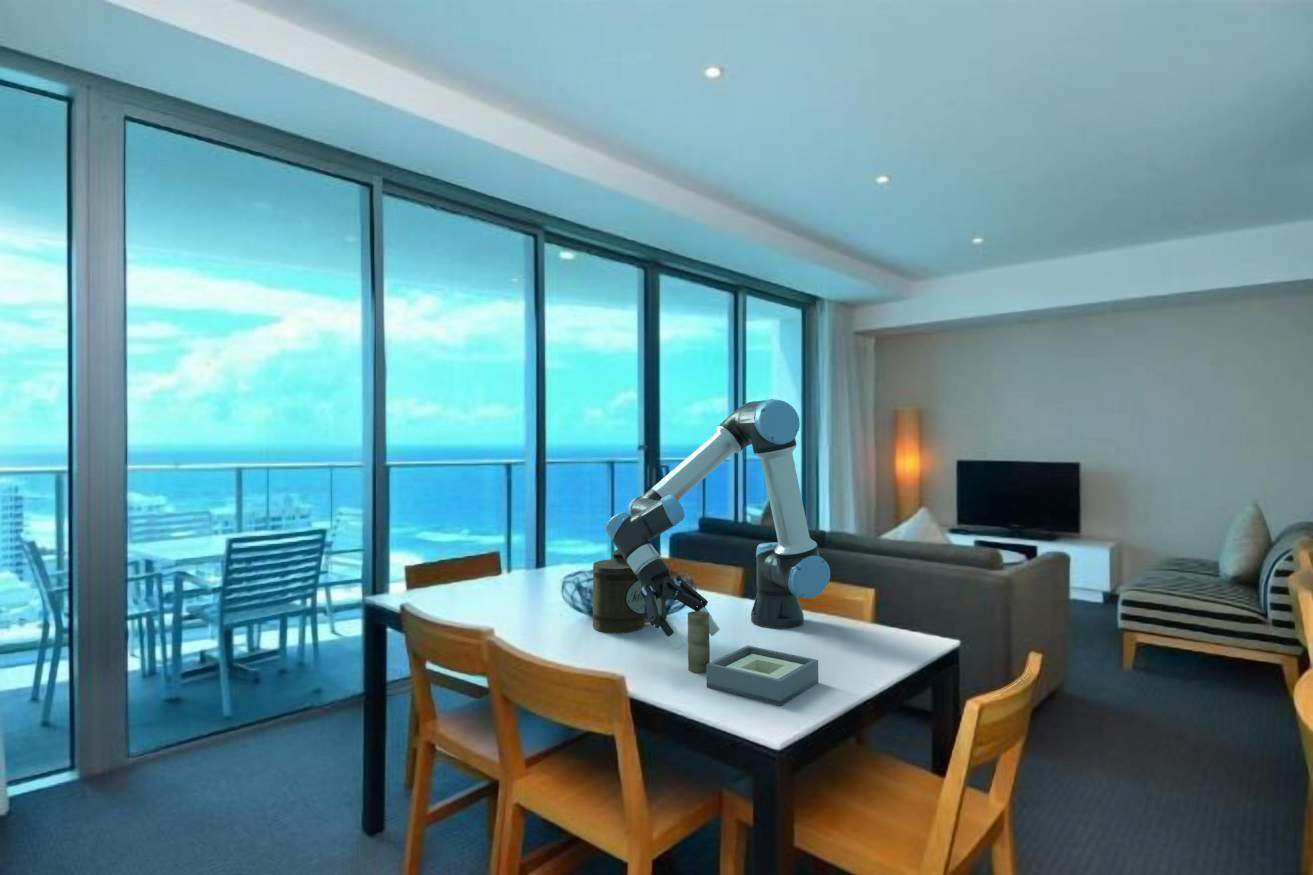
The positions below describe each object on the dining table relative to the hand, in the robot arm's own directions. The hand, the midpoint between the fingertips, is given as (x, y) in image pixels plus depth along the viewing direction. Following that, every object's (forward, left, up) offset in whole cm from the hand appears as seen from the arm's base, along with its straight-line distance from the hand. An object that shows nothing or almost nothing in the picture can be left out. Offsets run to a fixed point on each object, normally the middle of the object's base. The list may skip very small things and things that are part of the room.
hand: (699, 639), depth 166 cm
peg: (0, -1, -7) cm, 7 cm away
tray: (0, +16, -7) cm, 18 cm away
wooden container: (-17, -41, -7) cm, 45 cm away
